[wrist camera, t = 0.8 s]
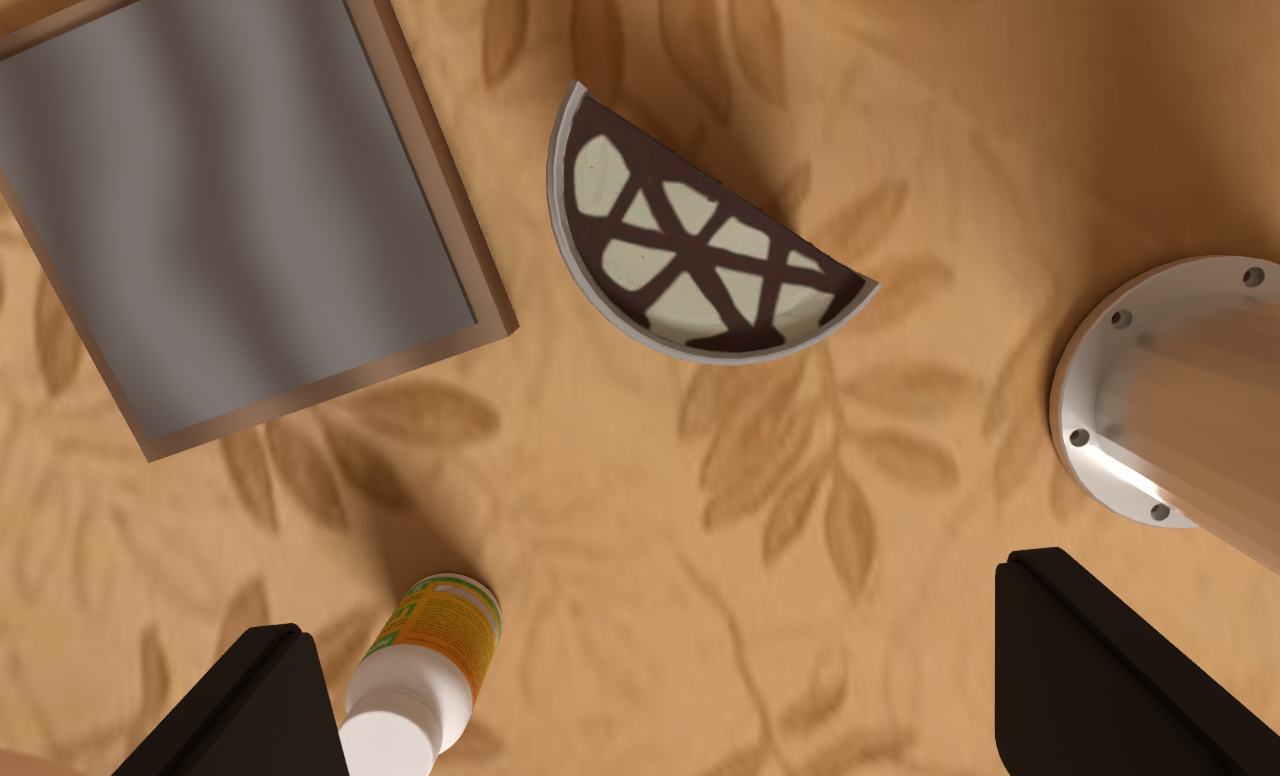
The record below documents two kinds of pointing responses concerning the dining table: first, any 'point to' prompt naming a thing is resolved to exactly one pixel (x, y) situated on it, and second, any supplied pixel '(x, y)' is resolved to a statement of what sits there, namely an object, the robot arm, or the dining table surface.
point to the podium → (240, 205)
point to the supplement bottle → (420, 677)
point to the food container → (684, 248)
